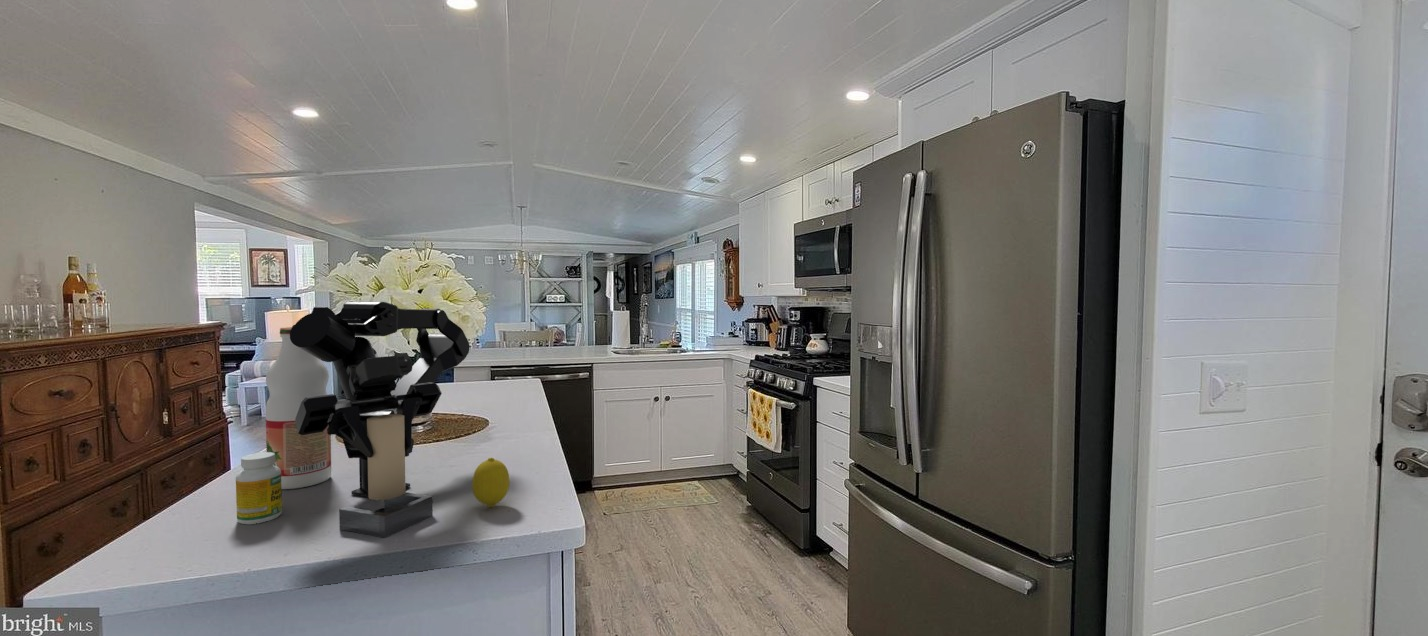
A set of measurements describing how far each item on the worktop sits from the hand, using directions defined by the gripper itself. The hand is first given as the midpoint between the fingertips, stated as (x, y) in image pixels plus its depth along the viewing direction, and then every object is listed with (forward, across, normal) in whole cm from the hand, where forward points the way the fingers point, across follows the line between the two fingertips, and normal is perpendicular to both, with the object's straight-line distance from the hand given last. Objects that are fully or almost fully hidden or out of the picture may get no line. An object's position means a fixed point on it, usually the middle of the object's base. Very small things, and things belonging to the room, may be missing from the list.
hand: (390, 452), depth 83 cm
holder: (+7, 0, +9) cm, 11 cm away
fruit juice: (-15, -2, +31) cm, 35 cm away
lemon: (+11, +13, +4) cm, 18 cm away
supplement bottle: (-5, -12, +20) cm, 24 cm away
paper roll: (+4, 0, +6) cm, 7 cm away
